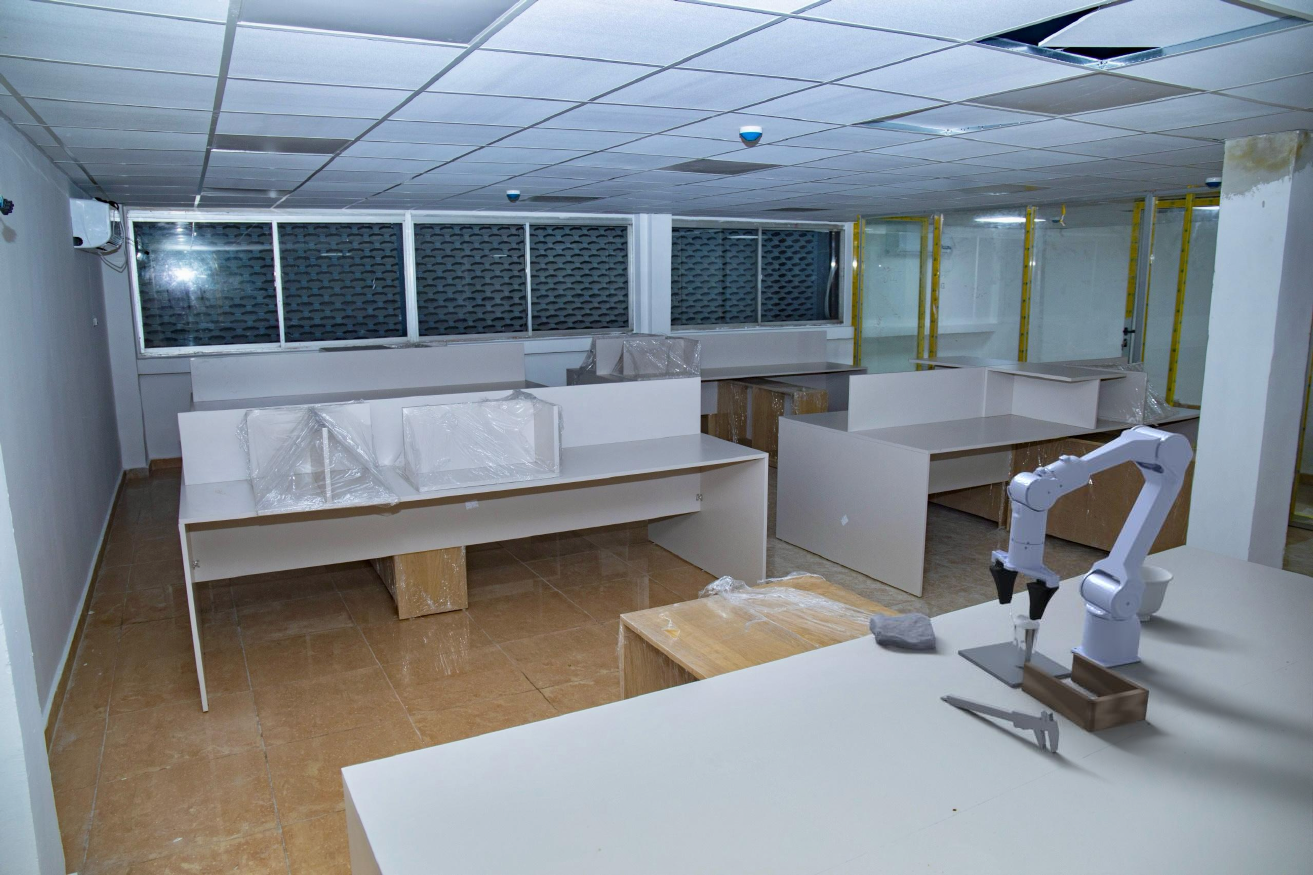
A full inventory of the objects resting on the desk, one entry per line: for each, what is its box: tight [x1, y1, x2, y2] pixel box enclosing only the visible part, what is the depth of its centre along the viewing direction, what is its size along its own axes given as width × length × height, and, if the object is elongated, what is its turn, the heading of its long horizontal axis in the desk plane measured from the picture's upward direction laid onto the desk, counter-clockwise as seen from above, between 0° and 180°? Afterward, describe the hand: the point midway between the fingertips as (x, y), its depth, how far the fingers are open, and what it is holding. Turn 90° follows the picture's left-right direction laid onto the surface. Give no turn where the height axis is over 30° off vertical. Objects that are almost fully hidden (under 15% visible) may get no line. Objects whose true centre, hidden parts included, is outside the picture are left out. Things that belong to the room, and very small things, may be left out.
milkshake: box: [1009, 612, 1041, 668], centre depth 156 cm, size 4×5×10 cm
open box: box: [1020, 653, 1150, 733], centre depth 143 cm, size 12×14×5 cm
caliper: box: [940, 693, 1060, 754], centre depth 137 cm, size 20×1×6 cm, turn 35°
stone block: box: [869, 612, 936, 651], centre depth 168 cm, size 12×5×10 cm
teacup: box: [1113, 562, 1174, 622], centre depth 181 cm, size 12×15×10 cm
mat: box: [957, 640, 1072, 688], centre depth 158 cm, size 14×14×1 cm
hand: (1019, 611), depth 156 cm, fingers open, 7 cm apart
